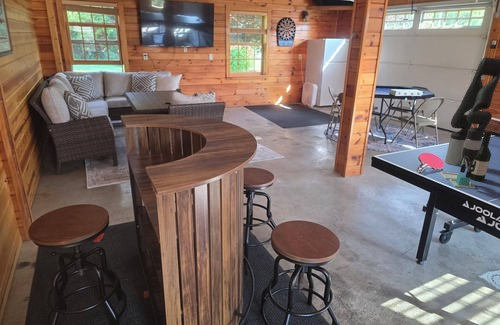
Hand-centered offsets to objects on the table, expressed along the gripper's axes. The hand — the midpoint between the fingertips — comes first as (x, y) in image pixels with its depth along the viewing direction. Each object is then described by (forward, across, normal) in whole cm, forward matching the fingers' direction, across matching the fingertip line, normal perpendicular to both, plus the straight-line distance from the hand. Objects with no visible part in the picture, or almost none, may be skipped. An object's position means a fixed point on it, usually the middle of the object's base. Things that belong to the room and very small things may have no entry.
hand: (464, 174), depth 183 cm
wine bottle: (+6, -12, +11) cm, 18 cm away
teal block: (+6, 0, 0) cm, 6 cm away
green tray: (+6, 0, 0) cm, 6 cm away
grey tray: (+6, -11, -2) cm, 13 cm away
